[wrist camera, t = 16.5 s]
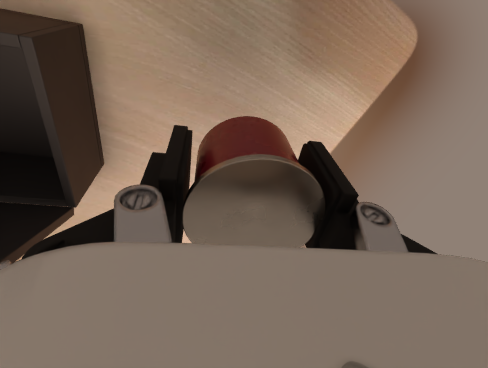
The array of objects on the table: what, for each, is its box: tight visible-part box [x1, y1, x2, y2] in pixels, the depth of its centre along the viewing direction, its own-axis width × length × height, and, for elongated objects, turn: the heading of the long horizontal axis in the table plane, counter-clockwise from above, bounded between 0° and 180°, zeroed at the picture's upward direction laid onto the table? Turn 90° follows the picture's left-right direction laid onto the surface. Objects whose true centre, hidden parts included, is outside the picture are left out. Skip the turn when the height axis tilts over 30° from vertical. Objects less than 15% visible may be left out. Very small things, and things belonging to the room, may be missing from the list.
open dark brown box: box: [0, 9, 104, 207], centre depth 22 cm, size 15×13×8 cm
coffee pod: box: [182, 116, 325, 248], centre depth 11 cm, size 5×5×4 cm
